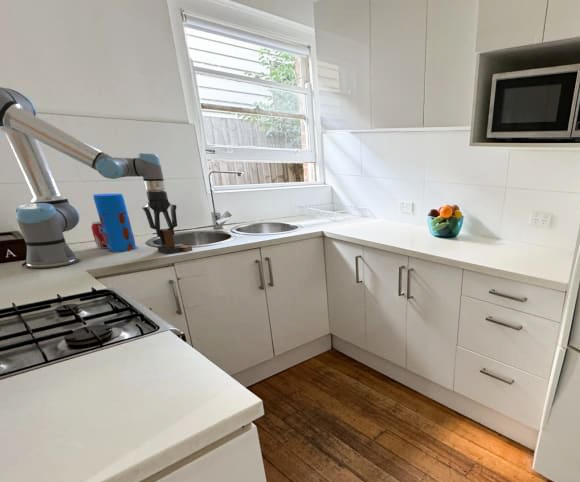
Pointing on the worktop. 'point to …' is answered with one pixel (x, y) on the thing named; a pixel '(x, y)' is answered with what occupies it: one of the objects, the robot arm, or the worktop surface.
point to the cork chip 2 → (185, 248)
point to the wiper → (168, 243)
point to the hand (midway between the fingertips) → (167, 243)
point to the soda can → (99, 235)
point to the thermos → (115, 221)
